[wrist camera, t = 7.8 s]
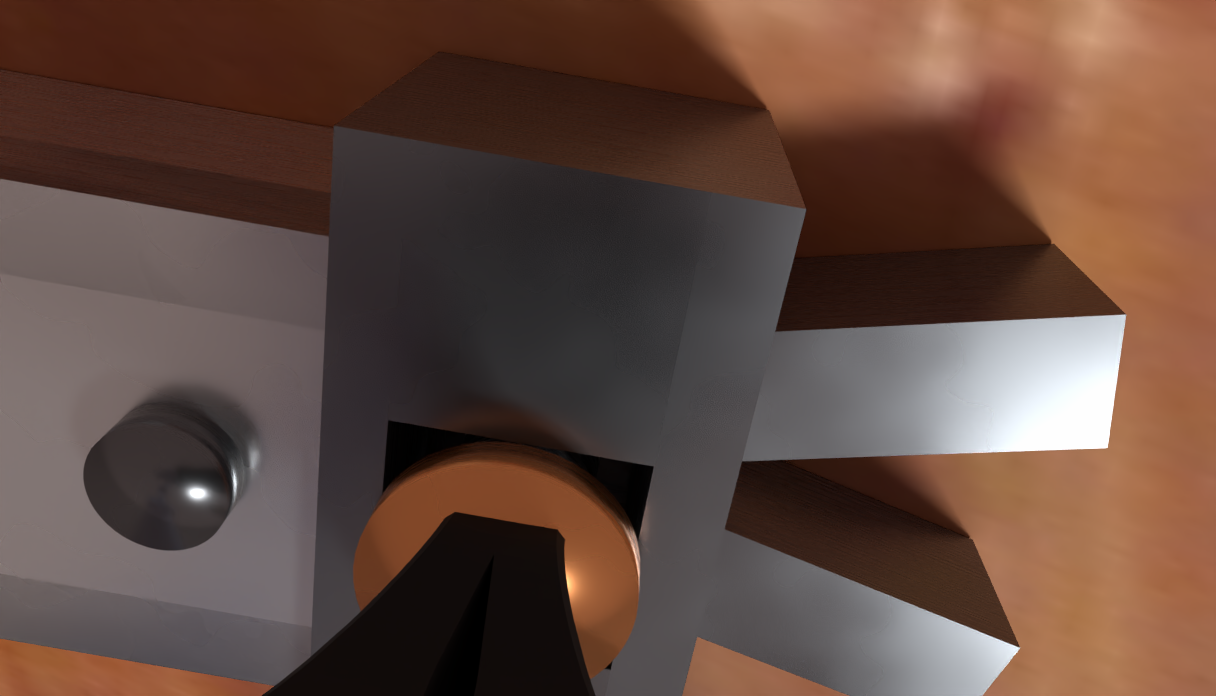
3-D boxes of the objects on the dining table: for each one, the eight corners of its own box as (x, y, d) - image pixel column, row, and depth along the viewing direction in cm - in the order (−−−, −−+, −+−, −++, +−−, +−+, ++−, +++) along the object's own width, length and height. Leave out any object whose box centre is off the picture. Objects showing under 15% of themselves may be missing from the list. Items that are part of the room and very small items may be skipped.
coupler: (160, 542, 19) (-1, 746, 15) (141, -2, 15) (-95, 50, 10) (920, 674, 19) (993, 917, 15) (1115, 171, 15) (1301, 296, 11)
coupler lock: (-30, 440, 19) (-266, 626, 14) (-79, 55, 16) (-400, 129, 11) (399, 515, 19) (304, 725, 14) (430, 145, 16) (325, 256, 11)
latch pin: (426, 485, 17) (346, 675, 13) (445, 296, 15) (361, 444, 11) (629, 520, 17) (613, 721, 13) (667, 336, 15) (662, 497, 11)
